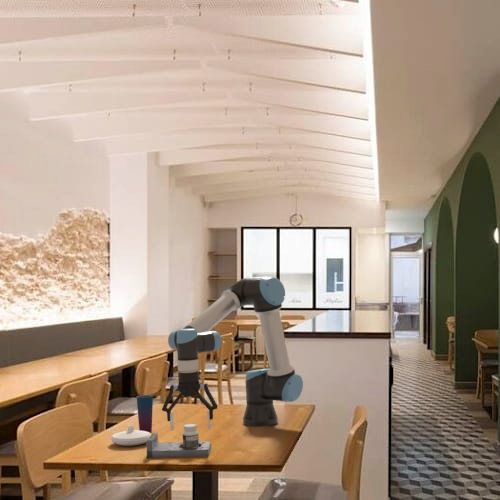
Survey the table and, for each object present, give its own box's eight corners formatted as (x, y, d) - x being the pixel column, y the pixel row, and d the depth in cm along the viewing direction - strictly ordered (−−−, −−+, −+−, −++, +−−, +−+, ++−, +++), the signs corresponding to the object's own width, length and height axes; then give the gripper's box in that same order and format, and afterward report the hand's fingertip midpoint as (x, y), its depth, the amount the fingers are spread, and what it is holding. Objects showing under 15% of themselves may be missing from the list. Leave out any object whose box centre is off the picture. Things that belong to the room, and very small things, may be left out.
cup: (150, 434, 298) (149, 397, 298) (135, 433, 299) (134, 397, 300) (156, 430, 305) (155, 394, 305) (140, 430, 306) (139, 394, 306)
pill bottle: (183, 451, 266) (182, 424, 266) (198, 450, 266) (197, 423, 267) (183, 455, 260) (182, 427, 261) (199, 454, 261) (198, 426, 261)
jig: (211, 447, 270) (210, 431, 270) (208, 456, 257) (207, 439, 257) (152, 449, 270) (152, 433, 270) (146, 458, 257) (146, 441, 257)
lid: (116, 450, 271) (115, 431, 271) (106, 442, 285) (106, 424, 285) (156, 445, 277) (156, 427, 277) (145, 438, 291) (145, 420, 292)
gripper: (222, 368, 268) (225, 425, 267) (156, 371, 269) (158, 428, 268) (221, 371, 261) (224, 430, 260) (152, 374, 261) (155, 432, 261)
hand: (190, 429), depth 264 cm, fingers open, 13 cm apart
